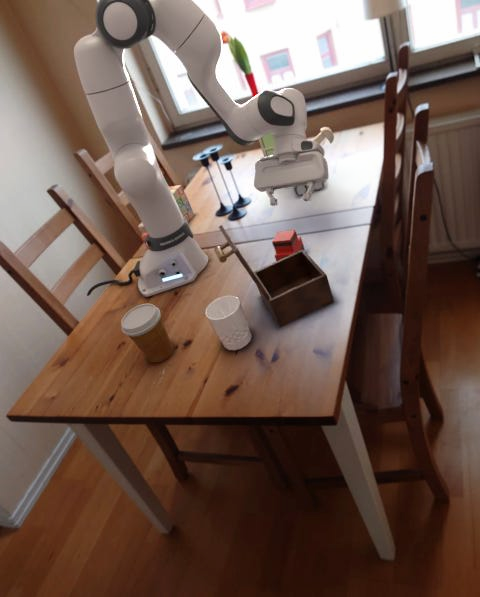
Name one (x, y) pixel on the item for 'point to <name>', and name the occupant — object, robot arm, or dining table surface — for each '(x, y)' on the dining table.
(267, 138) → the toy refrigerator
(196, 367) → the dining table surface
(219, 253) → the chest lid
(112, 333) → the dining table surface
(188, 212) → the printed cardboard box
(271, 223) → the dining table surface
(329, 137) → the toy excavator
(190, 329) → the dining table surface
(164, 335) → the disposable coffee cup
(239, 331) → the white cup
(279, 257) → the red stepped block
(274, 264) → the toy chest
